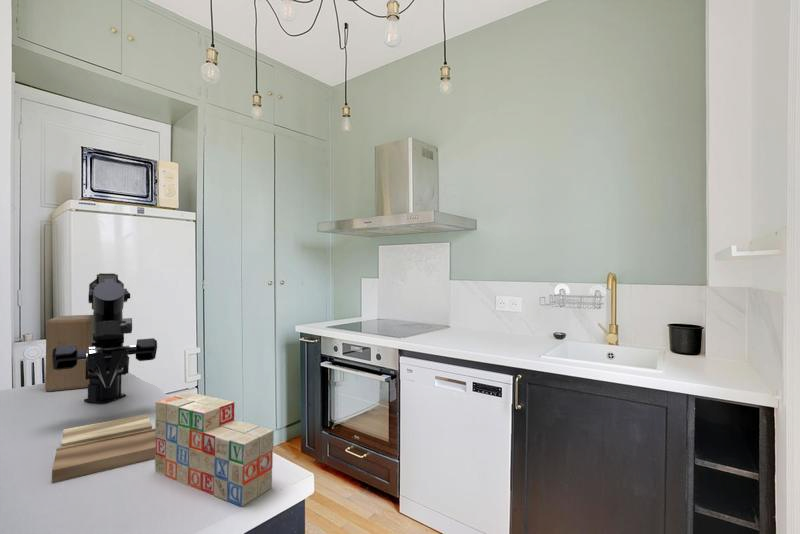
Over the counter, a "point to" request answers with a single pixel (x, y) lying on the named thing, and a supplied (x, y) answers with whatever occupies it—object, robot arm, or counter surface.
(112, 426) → the oak plank
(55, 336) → the wooden block
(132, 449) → the wooden molding strip
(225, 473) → the stack of blocks
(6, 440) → the counter surface
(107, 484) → the counter surface
